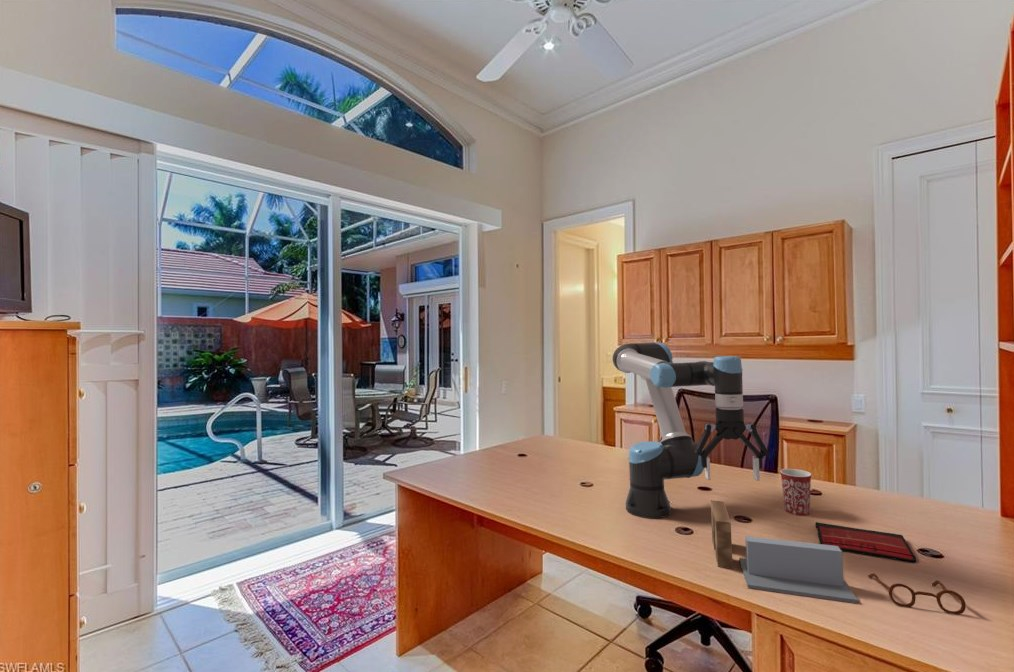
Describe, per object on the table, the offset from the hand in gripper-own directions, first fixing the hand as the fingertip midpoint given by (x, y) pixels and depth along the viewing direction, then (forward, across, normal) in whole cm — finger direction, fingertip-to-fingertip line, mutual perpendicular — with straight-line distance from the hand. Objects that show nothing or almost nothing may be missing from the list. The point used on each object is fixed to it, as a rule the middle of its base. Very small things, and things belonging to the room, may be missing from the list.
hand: (732, 479), depth 133 cm
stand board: (+18, +7, -22) cm, 29 cm away
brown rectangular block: (+18, -6, -9) cm, 21 cm away
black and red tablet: (+19, +35, +1) cm, 40 cm away
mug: (+18, +29, +26) cm, 43 cm away
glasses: (+19, +31, -25) cm, 44 cm away
